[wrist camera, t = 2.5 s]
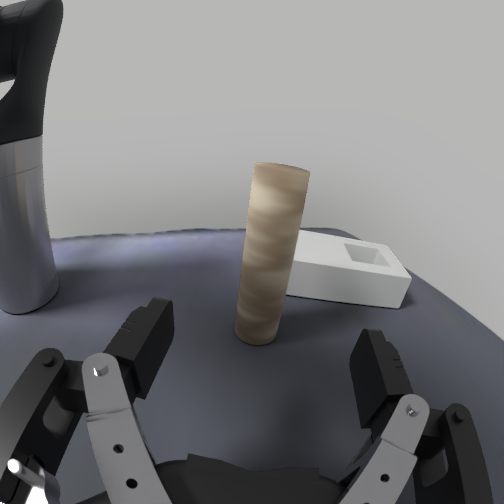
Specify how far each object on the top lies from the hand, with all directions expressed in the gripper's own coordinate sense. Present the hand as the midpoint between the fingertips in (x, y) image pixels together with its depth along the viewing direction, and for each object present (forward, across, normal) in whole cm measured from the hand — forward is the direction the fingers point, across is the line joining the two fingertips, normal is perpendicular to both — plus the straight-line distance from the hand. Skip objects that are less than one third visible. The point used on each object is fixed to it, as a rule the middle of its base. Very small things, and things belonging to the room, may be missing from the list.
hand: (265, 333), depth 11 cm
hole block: (+23, -9, +10) cm, 27 cm away
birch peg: (+11, 0, +10) cm, 15 cm away
